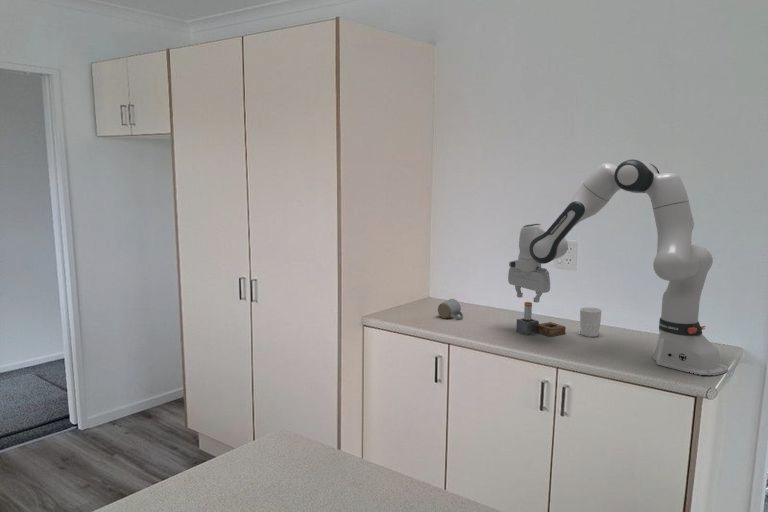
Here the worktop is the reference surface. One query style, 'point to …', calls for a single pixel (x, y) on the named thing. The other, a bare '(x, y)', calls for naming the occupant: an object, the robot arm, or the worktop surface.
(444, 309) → the ceramic mug
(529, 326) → the socket block
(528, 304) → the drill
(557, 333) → the block
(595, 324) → the white cup
